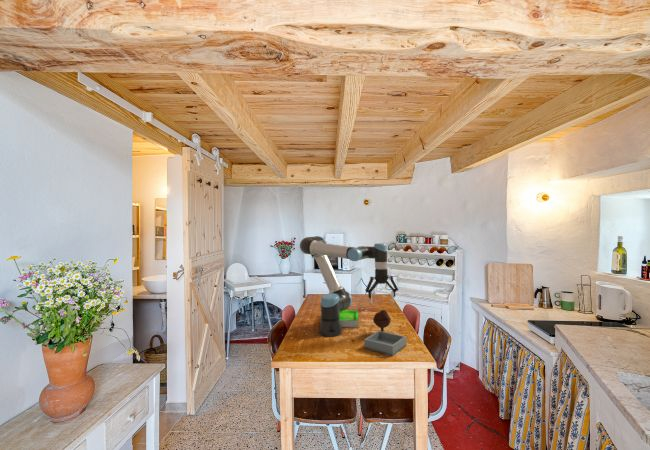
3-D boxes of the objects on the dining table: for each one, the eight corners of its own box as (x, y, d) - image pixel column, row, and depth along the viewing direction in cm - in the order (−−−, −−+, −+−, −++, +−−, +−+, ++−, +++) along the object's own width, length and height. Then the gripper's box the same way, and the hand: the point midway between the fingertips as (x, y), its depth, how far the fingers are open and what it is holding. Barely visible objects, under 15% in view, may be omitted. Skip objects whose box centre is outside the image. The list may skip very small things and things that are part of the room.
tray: (358, 317, 230) (358, 310, 230) (358, 328, 205) (358, 320, 205) (324, 316, 233) (324, 309, 233) (320, 327, 208) (320, 320, 208)
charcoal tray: (364, 348, 171) (364, 339, 171) (379, 339, 184) (379, 330, 184) (392, 356, 160) (392, 346, 160) (406, 345, 174) (406, 336, 174)
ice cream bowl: (391, 331, 196) (391, 307, 196) (390, 338, 186) (389, 312, 185) (374, 330, 199) (374, 307, 199) (372, 336, 188) (372, 311, 188)
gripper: (362, 270, 187) (363, 305, 187) (402, 268, 190) (403, 303, 190) (360, 268, 194) (360, 302, 194) (398, 266, 197) (399, 300, 197)
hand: (382, 302), depth 192 cm, fingers open, 13 cm apart
